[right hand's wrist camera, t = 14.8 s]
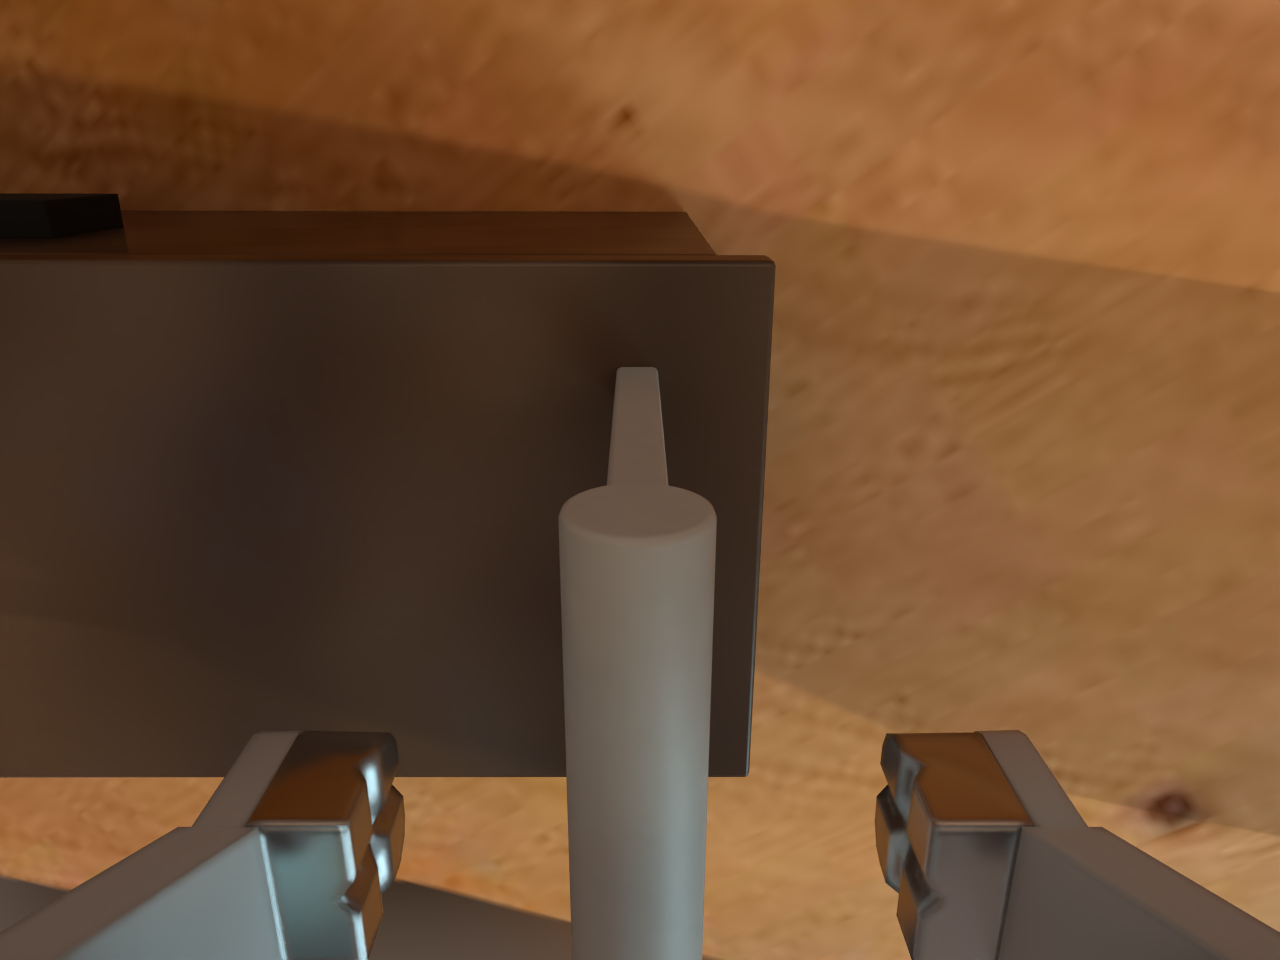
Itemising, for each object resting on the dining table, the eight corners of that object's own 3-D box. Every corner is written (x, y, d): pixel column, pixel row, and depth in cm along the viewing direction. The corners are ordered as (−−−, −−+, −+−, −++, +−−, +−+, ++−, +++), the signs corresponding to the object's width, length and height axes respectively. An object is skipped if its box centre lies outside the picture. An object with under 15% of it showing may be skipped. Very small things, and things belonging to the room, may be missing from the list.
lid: (769, 255, 16) (905, 367, 8) (744, 751, 19) (821, 1179, 11) (-255, 253, 16) (-1179, 364, 8) (-91, 752, 19) (-605, 1182, 11)
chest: (687, 211, 26) (718, 254, 16) (680, 542, 30) (703, 750, 19) (97, 210, 26) (-252, 252, 16) (162, 541, 30) (-88, 751, 19)
